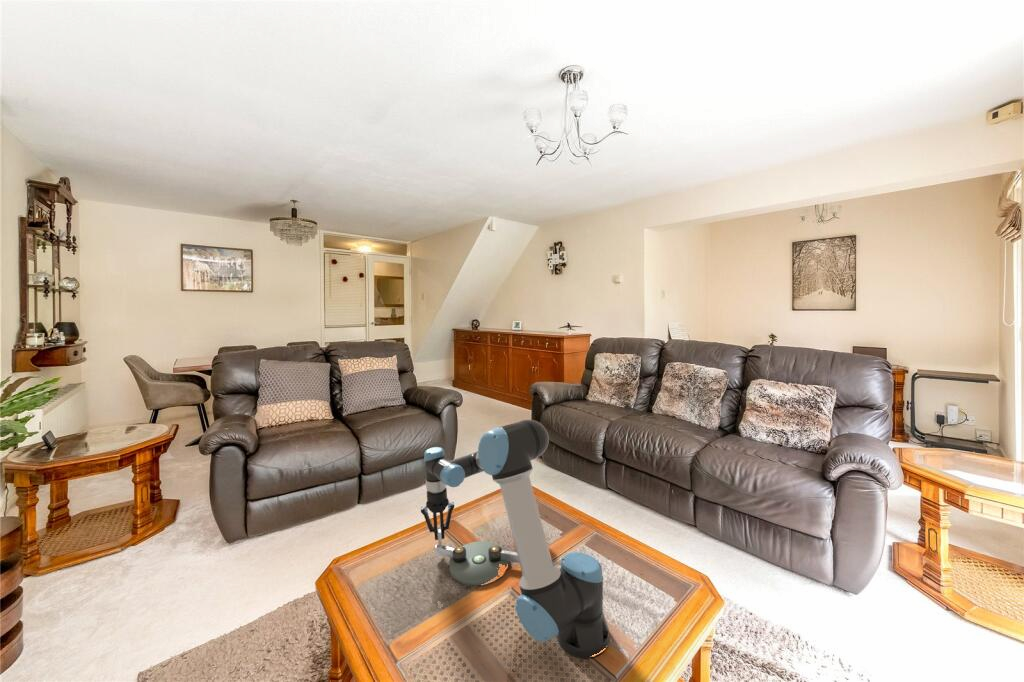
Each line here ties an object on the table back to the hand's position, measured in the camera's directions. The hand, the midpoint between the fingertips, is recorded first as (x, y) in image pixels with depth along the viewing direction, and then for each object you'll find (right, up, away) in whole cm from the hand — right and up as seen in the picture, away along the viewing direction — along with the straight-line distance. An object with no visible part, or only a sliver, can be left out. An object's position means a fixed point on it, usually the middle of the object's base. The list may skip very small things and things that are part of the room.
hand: (440, 546), depth 150 cm
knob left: (+5, -1, -4) cm, 7 cm away
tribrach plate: (+16, -4, -6) cm, 17 cm away
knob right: (+25, -1, -7) cm, 26 cm away
